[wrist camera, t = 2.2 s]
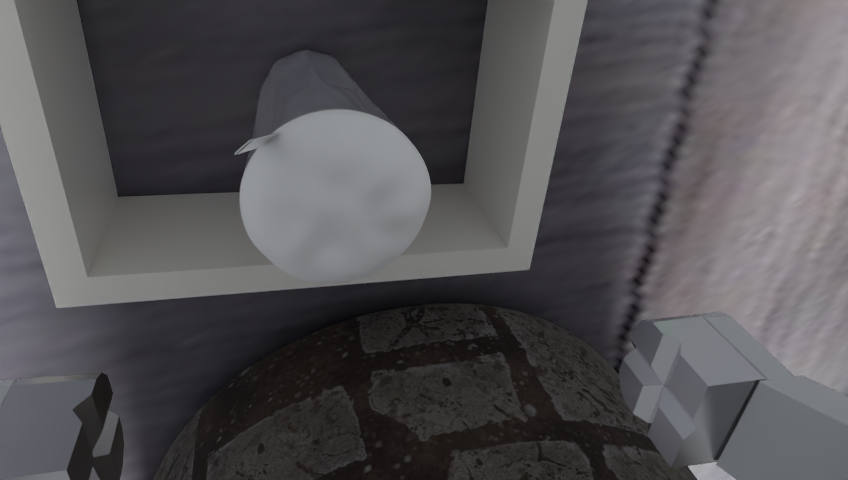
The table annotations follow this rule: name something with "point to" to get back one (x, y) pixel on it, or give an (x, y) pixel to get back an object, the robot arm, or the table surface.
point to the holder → (220, 212)
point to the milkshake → (328, 175)
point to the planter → (423, 406)
